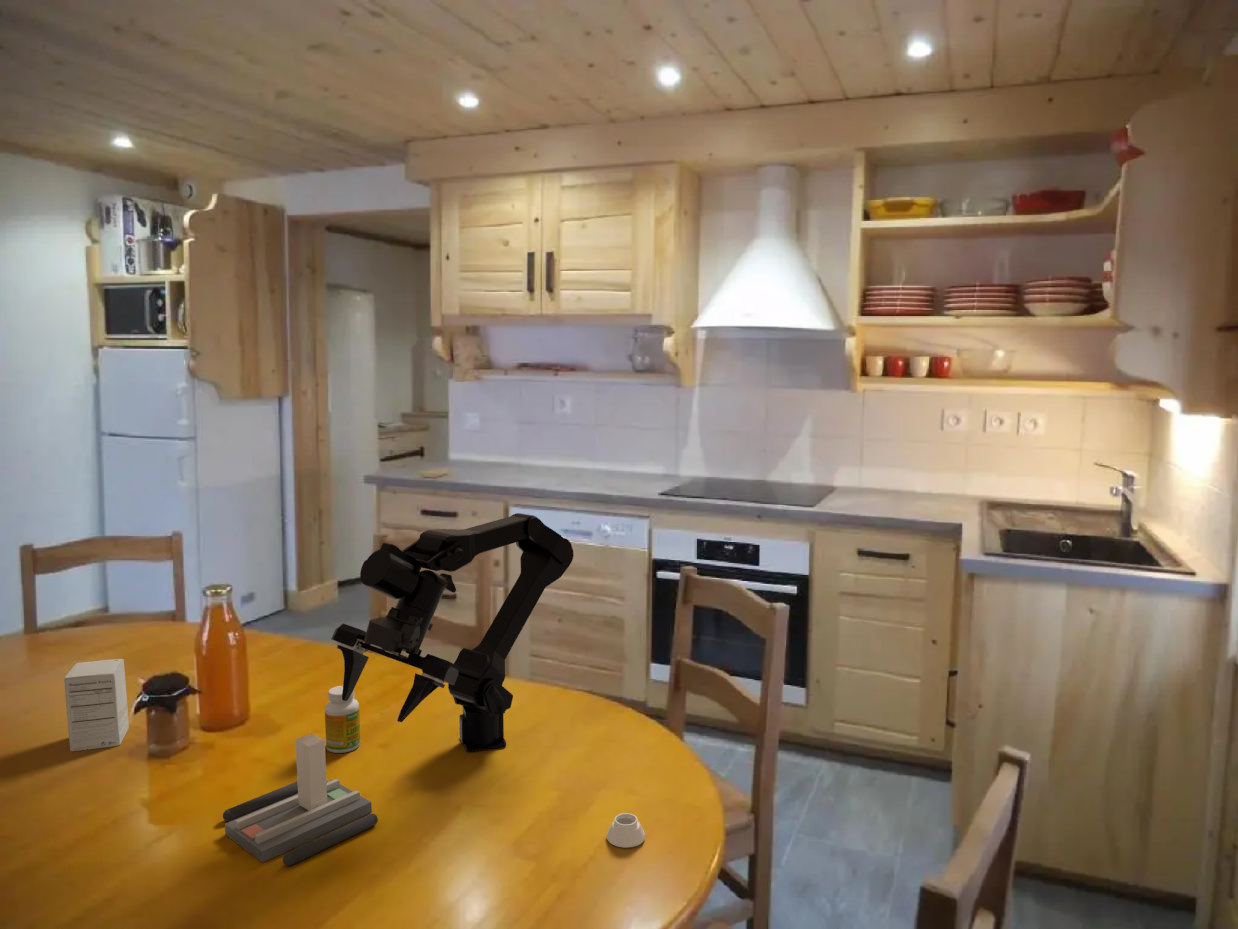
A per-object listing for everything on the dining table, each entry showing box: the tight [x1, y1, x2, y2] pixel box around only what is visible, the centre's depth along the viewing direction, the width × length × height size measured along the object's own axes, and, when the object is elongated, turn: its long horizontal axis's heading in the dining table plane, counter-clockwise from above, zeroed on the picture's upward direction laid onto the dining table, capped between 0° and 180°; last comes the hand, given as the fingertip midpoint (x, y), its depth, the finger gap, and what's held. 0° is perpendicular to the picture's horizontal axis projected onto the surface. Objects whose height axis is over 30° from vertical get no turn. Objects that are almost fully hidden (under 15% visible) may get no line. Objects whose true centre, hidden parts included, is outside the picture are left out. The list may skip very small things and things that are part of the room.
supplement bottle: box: [324, 685, 361, 754], centre depth 141 cm, size 5×5×10 cm
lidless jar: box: [606, 812, 646, 848], centre depth 115 cm, size 5×3×5 cm
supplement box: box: [63, 658, 130, 752], centre depth 143 cm, size 7×7×13 cm
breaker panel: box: [224, 778, 373, 863], centre depth 118 cm, size 16×10×2 cm, turn 140°
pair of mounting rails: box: [222, 781, 379, 867], centre depth 118 cm, size 14×18×2 cm
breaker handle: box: [295, 733, 327, 811], centre depth 119 cm, size 2×3×10 cm
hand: (371, 711), depth 124 cm, fingers open, 9 cm apart
